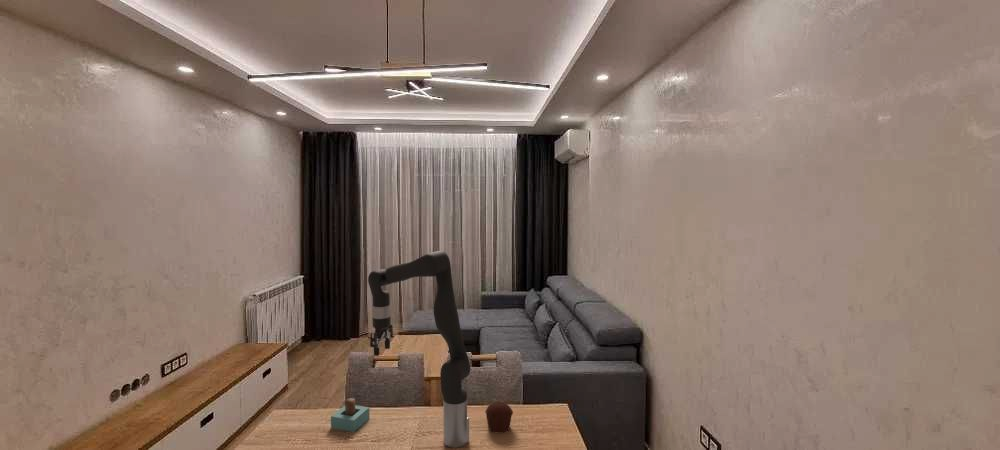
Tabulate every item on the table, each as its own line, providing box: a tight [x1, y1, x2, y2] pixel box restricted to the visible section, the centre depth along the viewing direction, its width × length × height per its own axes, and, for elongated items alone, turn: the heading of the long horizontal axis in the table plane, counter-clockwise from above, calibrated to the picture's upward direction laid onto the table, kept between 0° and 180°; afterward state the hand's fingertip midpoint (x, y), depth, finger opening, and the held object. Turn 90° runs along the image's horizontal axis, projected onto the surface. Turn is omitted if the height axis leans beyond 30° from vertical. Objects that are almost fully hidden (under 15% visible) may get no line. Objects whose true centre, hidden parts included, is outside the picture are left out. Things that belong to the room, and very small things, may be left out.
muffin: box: [484, 401, 514, 433], centre depth 183 cm, size 12×11×10 cm
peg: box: [344, 397, 356, 416], centre depth 185 cm, size 4×4×10 cm
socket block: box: [330, 404, 370, 433], centre depth 186 cm, size 11×11×5 cm
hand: (382, 352), depth 191 cm, fingers open, 8 cm apart
